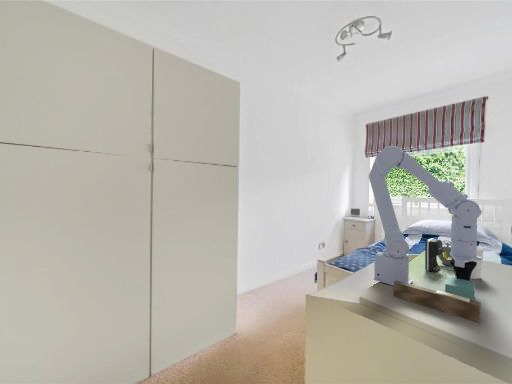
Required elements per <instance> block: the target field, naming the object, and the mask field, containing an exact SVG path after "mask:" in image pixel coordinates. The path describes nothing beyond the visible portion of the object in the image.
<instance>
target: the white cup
mask: <svg viewBox="0 0 512 384" xmlns="http://www.w3.org/2000/svg"><path fill="white" fill-rule="evenodd" d="M477 256H480V257H482V260H475V262H477V265H476V267H475V268H474V269H473V271H472V274H471V277H470V280H471V279H472V280H477V279H481V278H482V269H483V259H484V248H483V247H480V246H478V245H477Z"/></svg>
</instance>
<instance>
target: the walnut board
mask: <svg viewBox="0 0 512 384" xmlns="http://www.w3.org/2000/svg"><path fill="white" fill-rule="evenodd" d="M393 297H395V298H399V299H403V300H406V301H409V302H412V303H415V304H418V305H422V306H425V307H428V308H430V309H434V310H438V311H441V312H445V313H448V314H451V315H454V316H458V317H460V318H464V319H467V320H470V321H473V322H477V323H480V321H481V305H482V304H481V303H482V302H480V301H476V300H475V301H473V300H470V299H469V298H465V297H461V296H458V295H454V294H450V293H446V292H445V291H441V290H438V289H437V290H434V289H430V288H427V287H423V286H419V285H416V284H413V283H411V284H408V283H405V282H401V281H397V280H396V281H394V286H393Z"/></svg>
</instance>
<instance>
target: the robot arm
mask: <svg viewBox="0 0 512 384" xmlns="http://www.w3.org/2000/svg"><path fill="white" fill-rule="evenodd" d="M394 167H396V169H398V170H404V171H407V172H408V173H410V174H411V175H412V176H414V177H415V178H417V179H418V180H419V181H420V182H421V183H423V185H425V186H426V187H428V195H430V196H431V197H432V198H434V199H435V200H436V201H437V202H439V204H441V205H442V206H443V207H444V208H446V209H447V210H448V213H449V214H451V224H450V225H451V226H450V227H451V228H450V231H451V233H450V242H451V243H450V244H451V245H450V247H451V253H450V256H451V257H452V258H453V259H452V258H451V259H452V260H451V259H449V260H450V264H451V265H452V266H451V267H452V269H453V271H454V273H455V274H454V275H455V278H457V279H462V280H467V281H471V279H470V277H471V274H472V271H473V269H474V268H475V267H476V265H477V262H475V260H482V257H480V256H477V246H478V218H479V217H481V215H482V212H483V211H482V209H481V208H480V205H479V204H478V203H477V202H476V201H474V200H470V199H468V198H469V195H468V194H466V193H463V192H461V191H460V190H459V189H458V188H456V187H455V183H454V182H453V181H447V180H446V179H437V178H436V176H434V175H433V174H432V173H431V172H429V171H428V170H427V169H426V168H425V167H424V166H422V164H420V163H419V162H418V161H417V160H416V159H415V158H413V157H412V156H411V155H409V153H407V152H405V151H402V150H401V148H399V147H398V146H396V145H389V146H385V147H384V148H382V150H380V152H379V153H378V154H377V155H376V157H375V159H374V162H373V164H372V167H371V169H370V172H369V174H368V179H369V182H370V187H371V190H372V192H373V196H374V200H375V203H376V207H377V211H378V214H379V217H380V221H381V224H382V228H383V231H384V238H383V243H384V245H385V249H384V250H383V251H378V252H377V253H376V254H375V256H374V276H373V277H374V278H373V280H374V281H376V282H379V283H384V284H387V285H390V286H393V287H394V281H396V280H397V281H401V282H405V283H408V284H413V282H414V281H413V279H410V278H409V276H410V275H409V267H410V265H409V264H410V263H409V261H410V260H409V255H410V254H409V251H410V247H409V243H408V241H406V239H405V237H404V236H403V233H402V231H401V228H400V226H399V222H398V219H397V216H396V213H395V209H394V208H395V207H394V206H393V203H392V198H391V194H390V192H389V191H390V190H389V188H388V185H387V184H388V183H387V181H386V177H387V176H388V175H389V174H390V172H391V170H392V169H393V168H394Z"/></svg>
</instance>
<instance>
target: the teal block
mask: <svg viewBox="0 0 512 384" xmlns="http://www.w3.org/2000/svg"><path fill="white" fill-rule="evenodd" d="M475 283H476V282H475V281H472V280H470V281H467V280H462V279H457V278H456V277H451V276H447V277H446V280H445V283H444V292H446V293H450V294H454V295H458V296H461V297H465V298H469V299H470V300H473V301H476V299H475V294H476V293H475V292H476V291H475V290H476V289H475V287H476V286H475V285H476V284H475Z"/></svg>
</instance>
